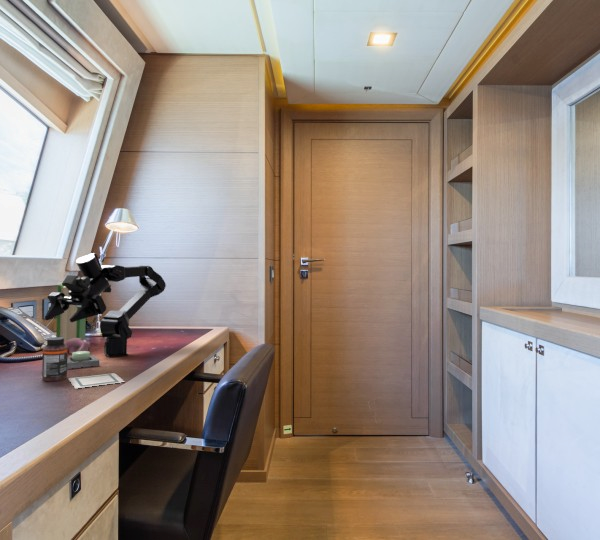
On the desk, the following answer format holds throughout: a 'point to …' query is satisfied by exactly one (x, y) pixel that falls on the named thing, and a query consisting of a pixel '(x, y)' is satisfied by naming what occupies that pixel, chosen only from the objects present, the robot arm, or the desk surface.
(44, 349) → the supplement bottle
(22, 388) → the desk surface
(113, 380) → the paper sheet
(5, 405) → the desk surface
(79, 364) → the button housing
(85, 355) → the button
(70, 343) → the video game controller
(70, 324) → the hardback book
